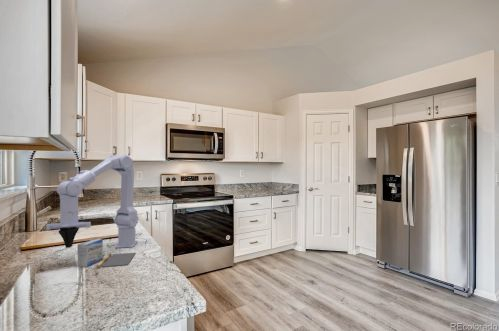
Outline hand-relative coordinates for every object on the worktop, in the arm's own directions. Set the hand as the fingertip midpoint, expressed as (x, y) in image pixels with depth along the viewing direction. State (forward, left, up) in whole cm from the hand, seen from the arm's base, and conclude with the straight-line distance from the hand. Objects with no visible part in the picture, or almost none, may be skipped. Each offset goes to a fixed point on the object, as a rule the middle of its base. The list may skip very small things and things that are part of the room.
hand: (68, 246), depth 97 cm
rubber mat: (-1, +18, -7) cm, 19 cm away
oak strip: (0, +12, -7) cm, 14 cm away
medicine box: (0, +8, -7) cm, 10 cm away
